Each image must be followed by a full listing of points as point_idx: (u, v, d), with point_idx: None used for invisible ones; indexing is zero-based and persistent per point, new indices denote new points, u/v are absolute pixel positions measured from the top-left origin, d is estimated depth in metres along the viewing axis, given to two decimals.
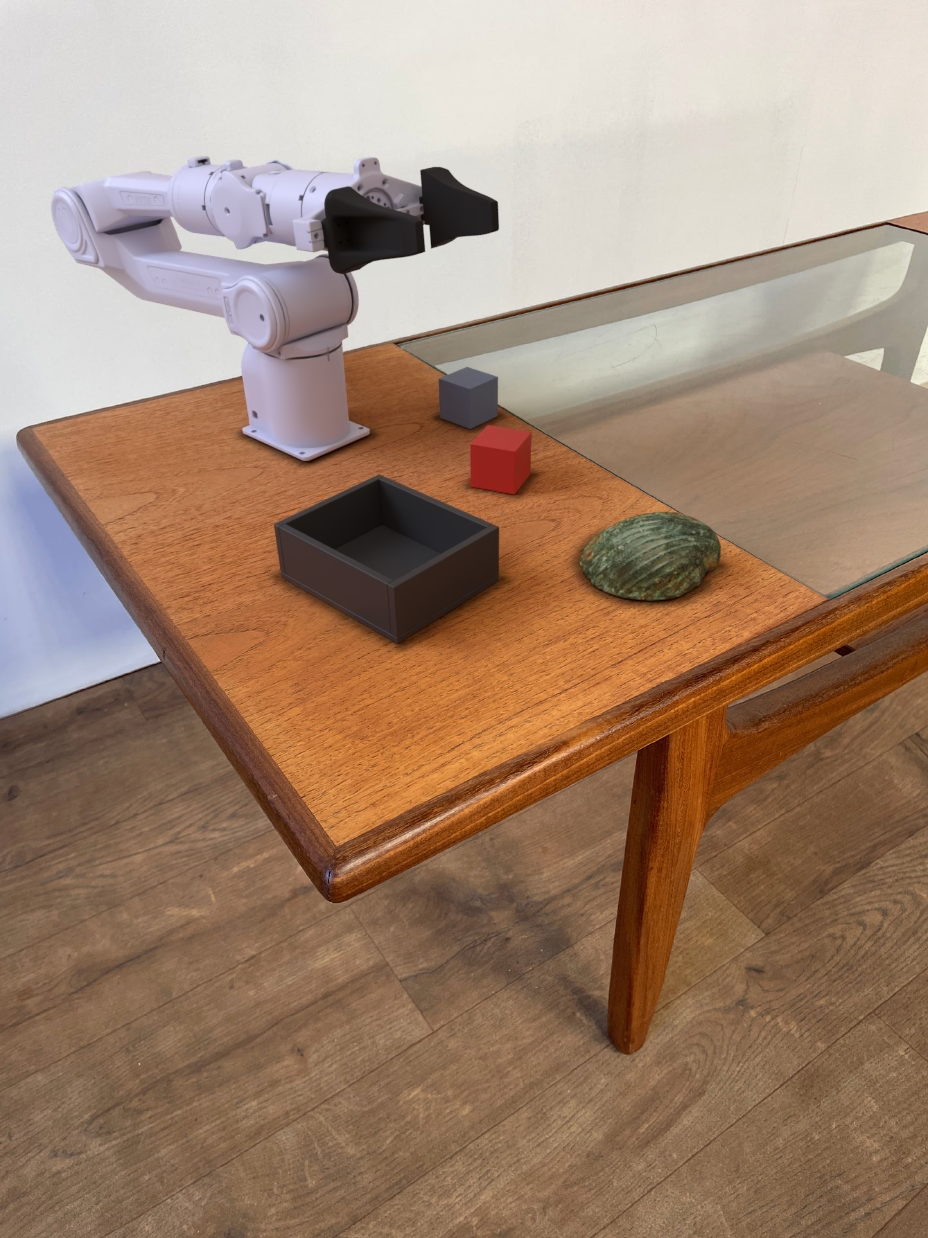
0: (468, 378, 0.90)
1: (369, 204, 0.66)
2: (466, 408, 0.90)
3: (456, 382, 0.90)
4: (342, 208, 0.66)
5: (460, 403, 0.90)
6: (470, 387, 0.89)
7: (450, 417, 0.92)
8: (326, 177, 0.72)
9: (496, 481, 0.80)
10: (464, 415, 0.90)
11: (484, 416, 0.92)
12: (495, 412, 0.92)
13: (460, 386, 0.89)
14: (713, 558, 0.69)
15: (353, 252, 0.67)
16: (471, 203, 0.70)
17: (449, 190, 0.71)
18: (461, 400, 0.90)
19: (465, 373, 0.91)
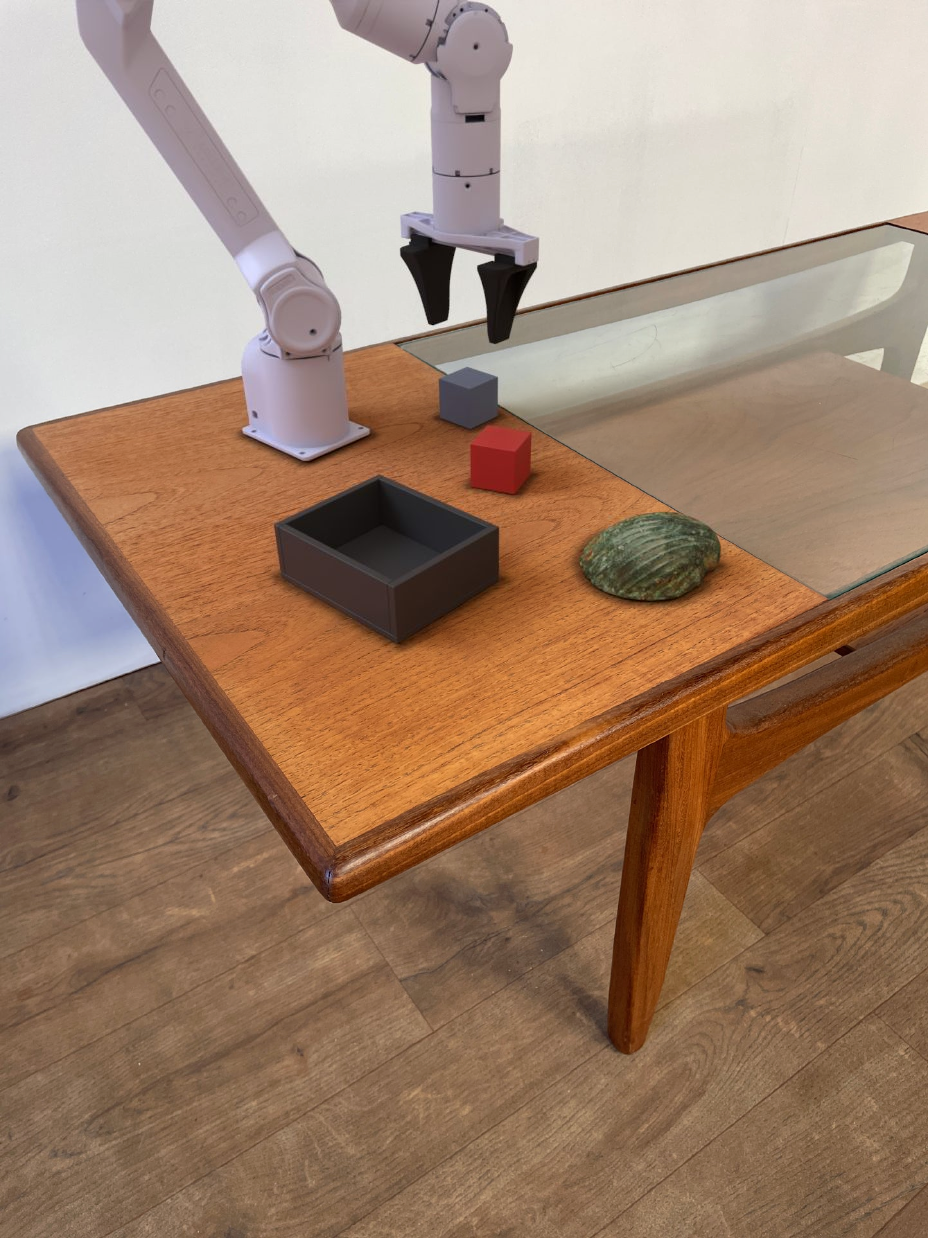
0: (468, 378, 0.90)
1: None
2: (466, 408, 0.90)
3: (456, 382, 0.90)
4: (528, 276, 0.83)
5: (460, 403, 0.90)
6: (470, 387, 0.89)
7: (450, 417, 0.92)
8: None
9: (496, 481, 0.80)
10: (464, 415, 0.90)
11: (484, 416, 0.92)
12: (495, 412, 0.92)
13: (460, 386, 0.89)
14: (713, 558, 0.69)
15: None
16: (444, 299, 0.89)
17: (449, 272, 0.89)
18: (461, 400, 0.90)
19: (465, 373, 0.91)
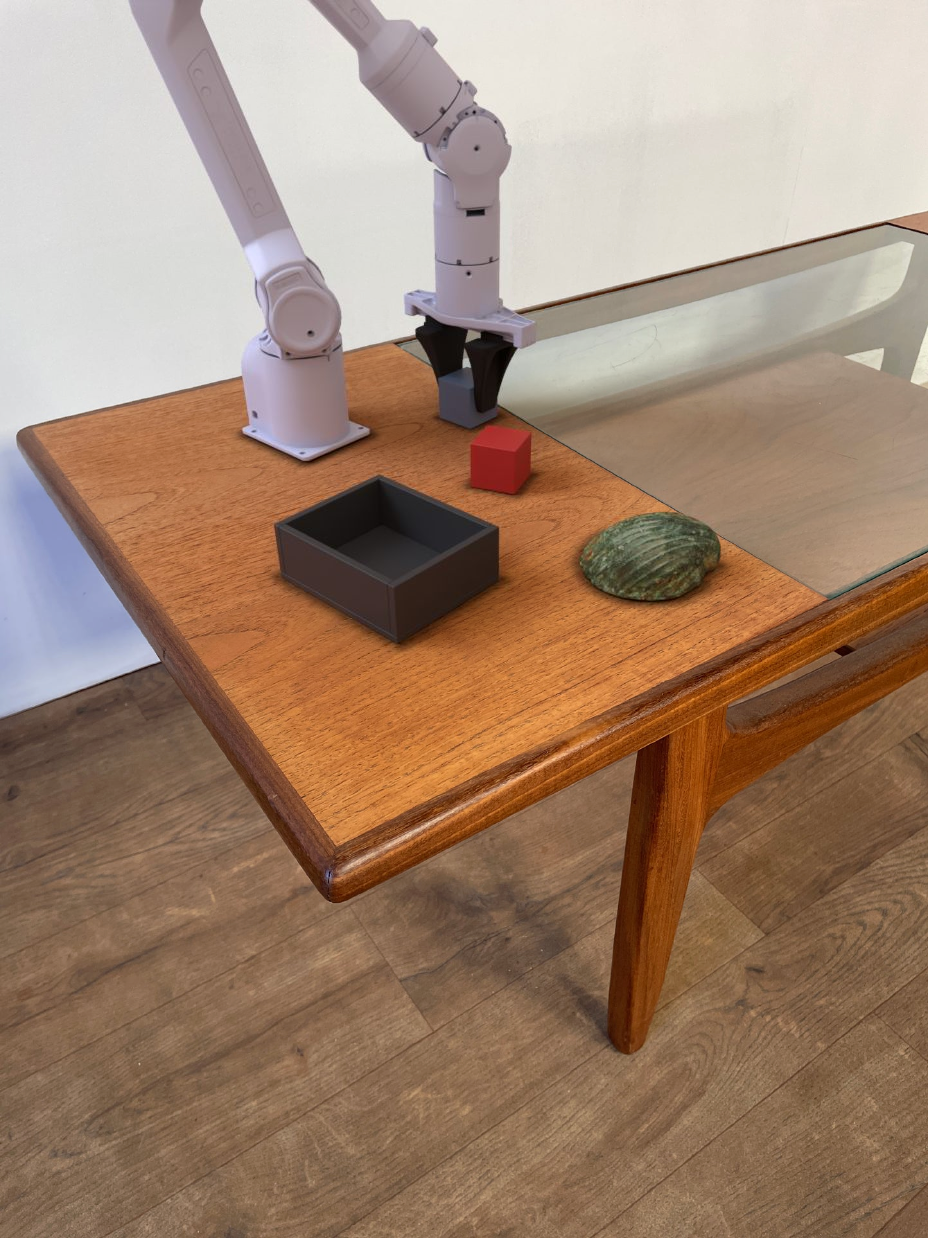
0: (468, 377, 0.91)
1: None
2: (466, 408, 0.90)
3: (456, 382, 0.90)
4: (513, 351, 0.88)
5: (460, 402, 0.90)
6: (469, 387, 0.89)
7: (450, 417, 0.92)
8: None
9: (496, 481, 0.80)
10: (464, 415, 0.90)
11: (484, 416, 0.92)
12: (494, 412, 0.93)
13: (460, 386, 0.89)
14: (713, 558, 0.69)
15: None
16: None
17: (462, 350, 0.92)
18: (461, 400, 0.90)
19: (465, 373, 0.91)
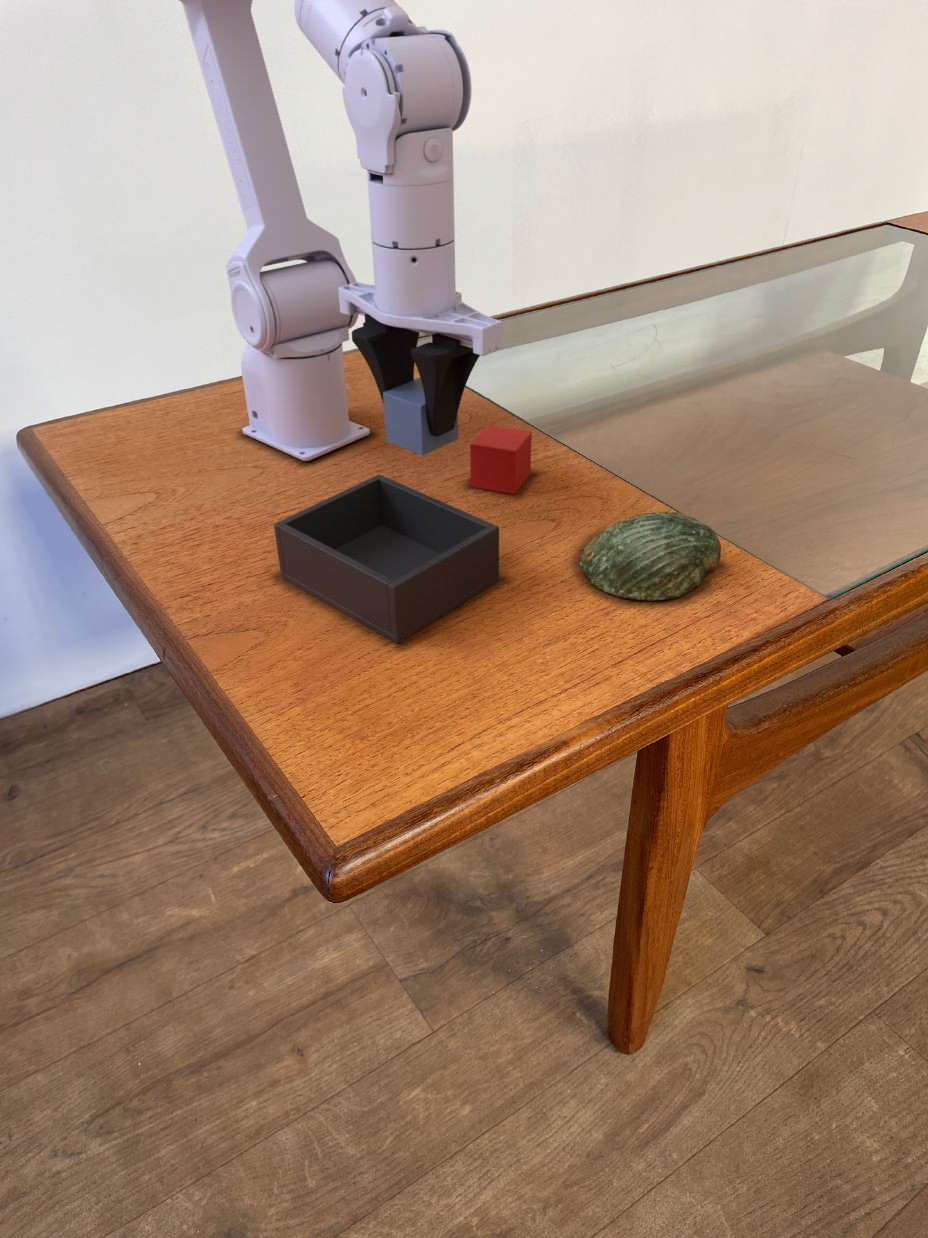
0: (420, 392, 0.72)
1: None
2: (417, 430, 0.71)
3: (404, 397, 0.71)
4: (474, 359, 0.69)
5: (410, 423, 0.72)
6: (421, 403, 0.70)
7: (398, 441, 0.74)
8: None
9: (496, 481, 0.80)
10: (415, 438, 0.72)
11: (441, 440, 0.73)
12: (454, 434, 0.74)
13: (410, 403, 0.71)
14: (713, 558, 0.69)
15: None
16: None
17: (412, 358, 0.73)
18: (411, 420, 0.71)
19: (416, 386, 0.73)
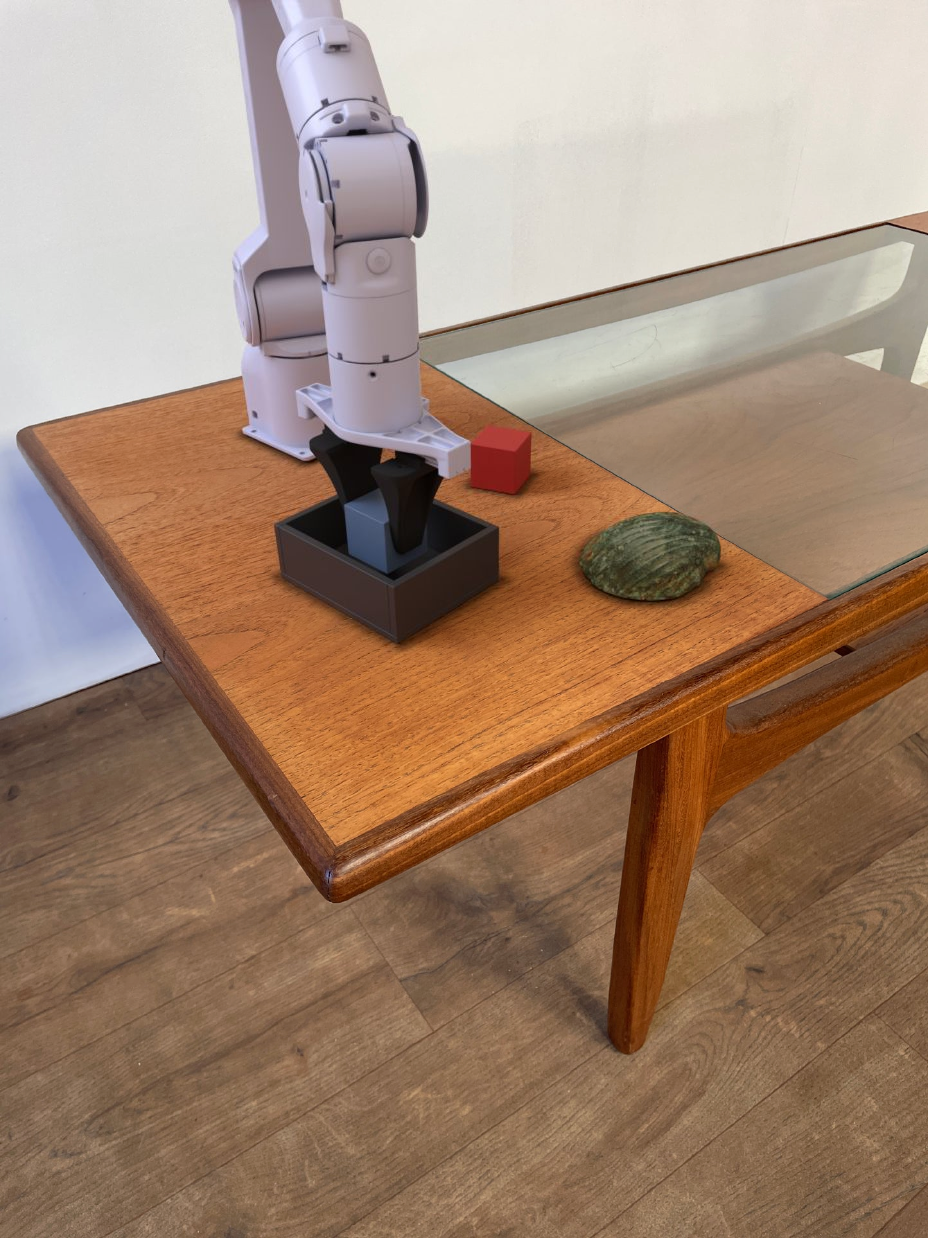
0: (385, 504, 0.66)
1: None
2: (381, 547, 0.65)
3: (367, 512, 0.65)
4: None
5: (373, 539, 0.66)
6: (384, 520, 0.64)
7: (362, 555, 0.67)
8: None
9: (496, 481, 0.80)
10: (378, 555, 0.66)
11: (408, 555, 0.67)
12: (423, 547, 0.68)
13: (372, 519, 0.65)
14: (713, 558, 0.69)
15: None
16: None
17: None
18: (374, 536, 0.65)
19: (381, 496, 0.67)
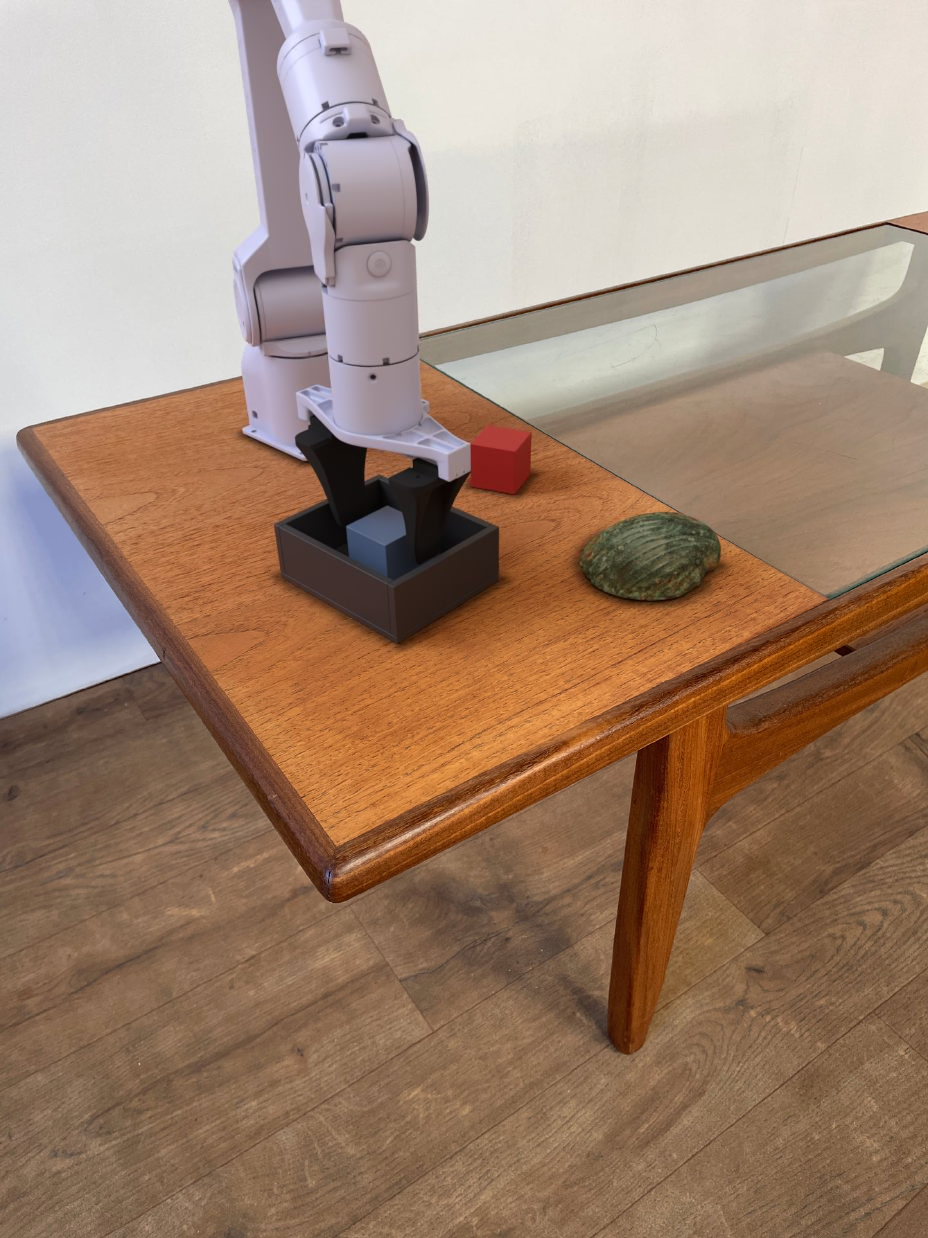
0: (386, 525, 0.67)
1: None
2: (382, 568, 0.66)
3: (369, 533, 0.66)
4: (460, 484, 0.62)
5: (375, 560, 0.67)
6: (386, 542, 0.65)
7: None
8: None
9: (496, 481, 0.80)
10: None
11: None
12: None
13: (374, 541, 0.66)
14: (713, 558, 0.69)
15: None
16: (358, 492, 0.69)
17: (362, 461, 0.68)
18: (376, 557, 0.66)
19: (383, 518, 0.68)
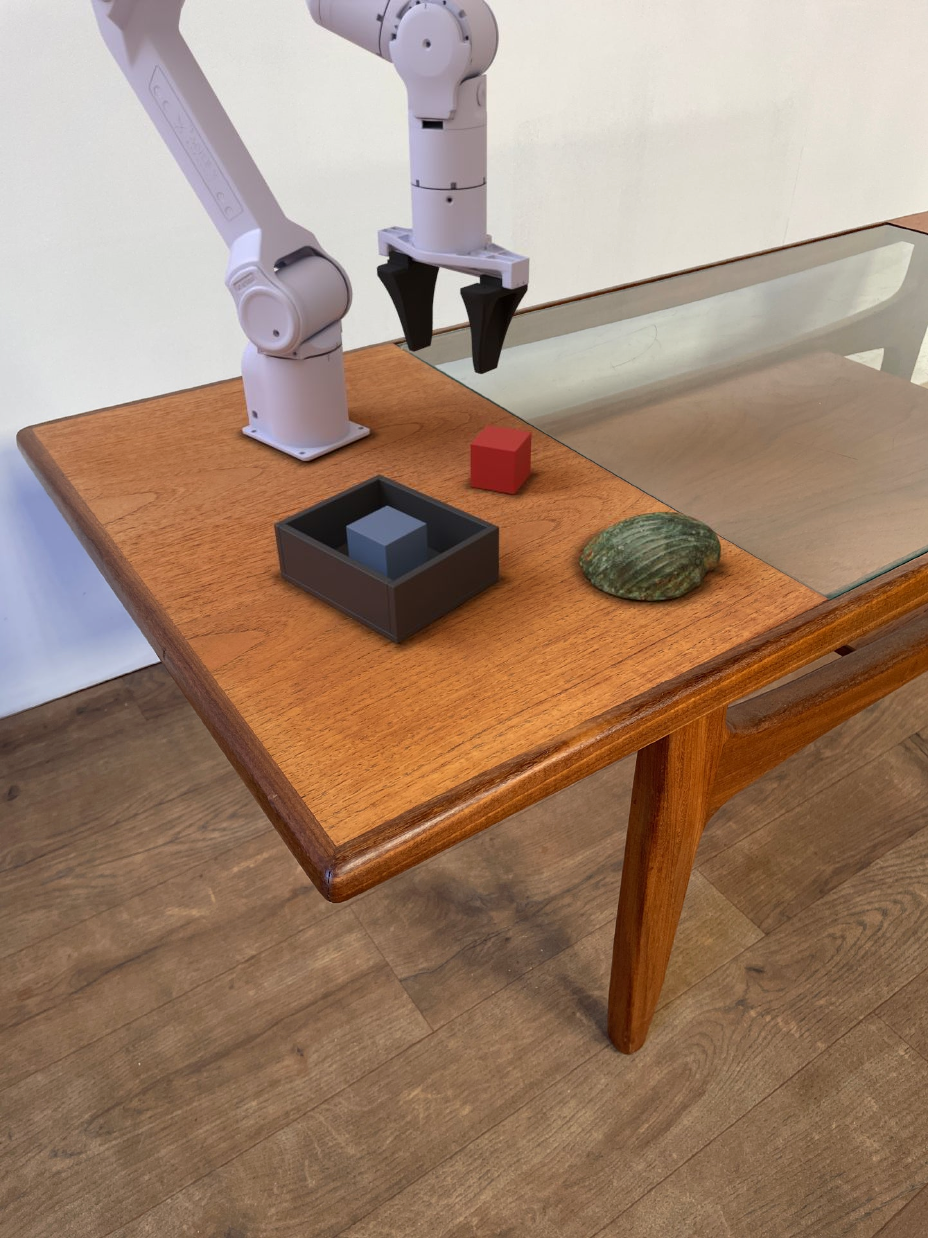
0: (386, 525, 0.67)
1: None
2: (382, 568, 0.66)
3: (369, 533, 0.66)
4: (518, 300, 0.74)
5: (375, 560, 0.67)
6: (386, 542, 0.65)
7: None
8: None
9: (496, 481, 0.80)
10: None
11: None
12: None
13: (374, 541, 0.66)
14: (713, 558, 0.69)
15: None
16: (427, 322, 0.81)
17: (431, 294, 0.80)
18: (376, 557, 0.66)
19: (383, 518, 0.68)
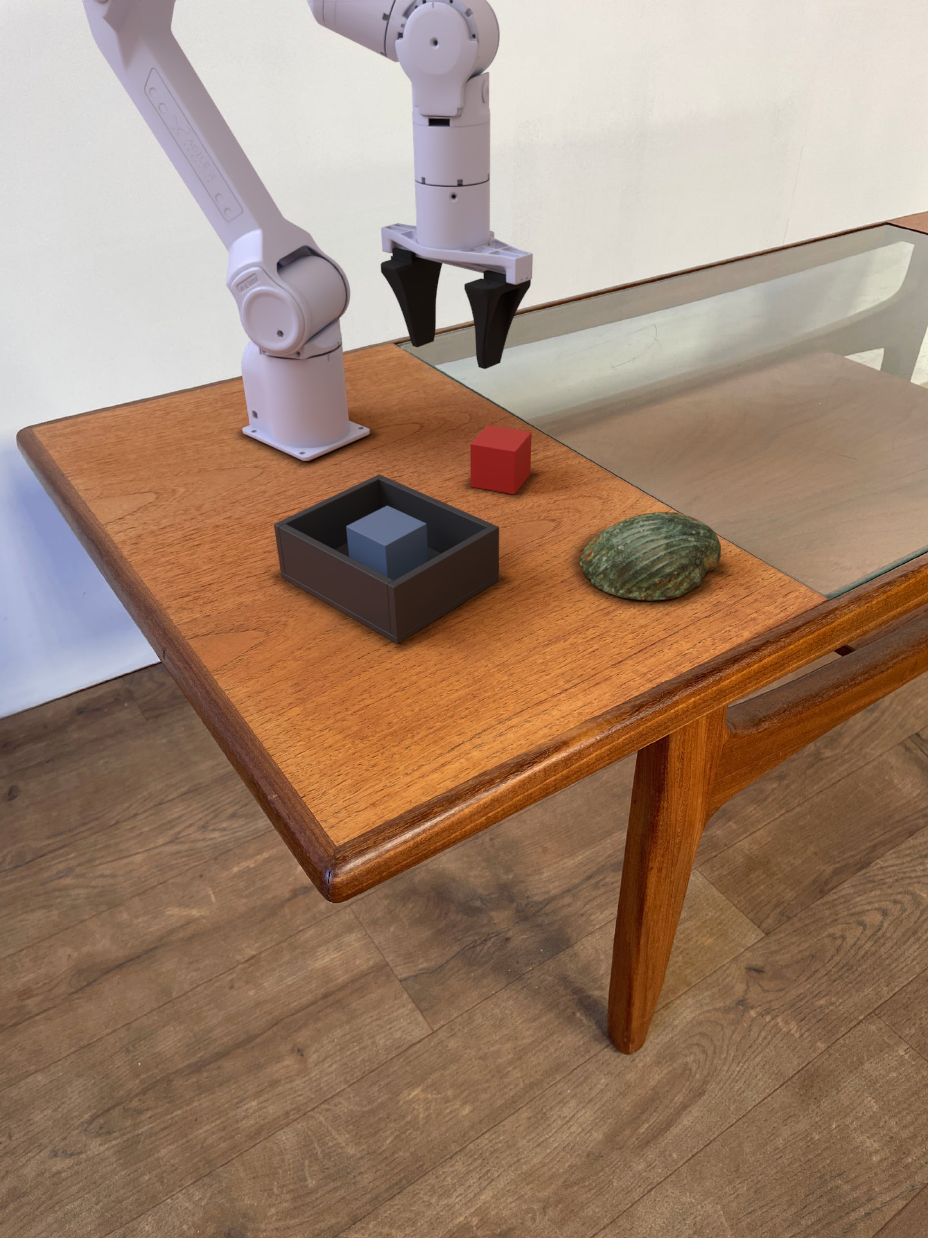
0: (386, 525, 0.67)
1: None
2: (382, 568, 0.66)
3: (369, 533, 0.66)
4: (521, 295, 0.75)
5: (375, 560, 0.67)
6: (386, 542, 0.65)
7: None
8: None
9: (496, 481, 0.80)
10: None
11: None
12: None
13: (374, 541, 0.66)
14: (713, 558, 0.69)
15: None
16: (430, 318, 0.82)
17: (434, 290, 0.81)
18: (376, 557, 0.66)
19: (383, 518, 0.68)
